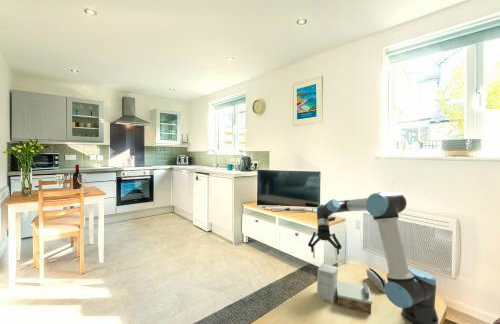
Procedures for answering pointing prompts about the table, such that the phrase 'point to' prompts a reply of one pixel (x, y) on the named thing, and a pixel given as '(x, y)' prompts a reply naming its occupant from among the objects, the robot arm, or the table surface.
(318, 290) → the supplement box
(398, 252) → the robot arm
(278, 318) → the table surface
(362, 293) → the lid
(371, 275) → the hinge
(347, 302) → the brown wooden box
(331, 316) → the table surface
